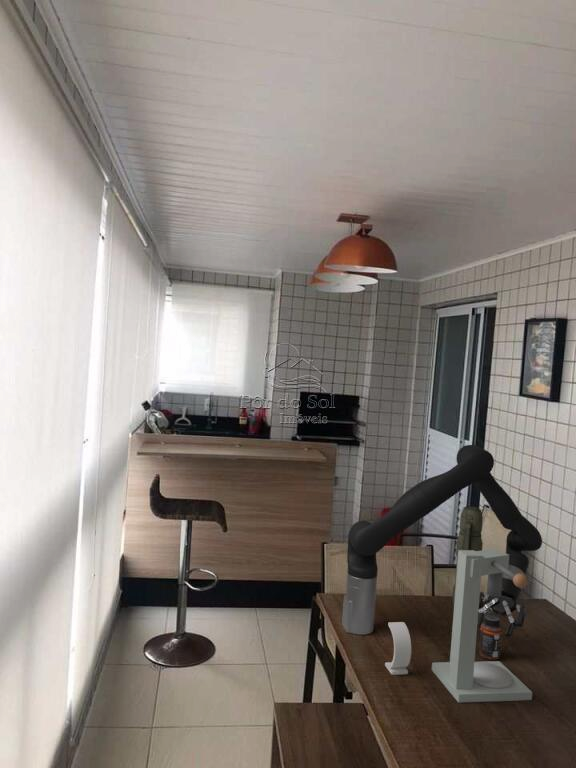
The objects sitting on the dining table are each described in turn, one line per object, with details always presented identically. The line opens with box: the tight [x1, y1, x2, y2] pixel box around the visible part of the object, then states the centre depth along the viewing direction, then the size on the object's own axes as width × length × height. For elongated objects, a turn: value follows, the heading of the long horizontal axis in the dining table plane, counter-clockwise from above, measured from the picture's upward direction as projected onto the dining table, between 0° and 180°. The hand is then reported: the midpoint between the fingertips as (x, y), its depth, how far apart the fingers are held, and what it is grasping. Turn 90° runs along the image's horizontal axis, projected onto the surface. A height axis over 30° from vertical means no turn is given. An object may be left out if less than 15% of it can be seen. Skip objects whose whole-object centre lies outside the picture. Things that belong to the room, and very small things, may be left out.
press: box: [431, 548, 533, 704], centre depth 152 cm, size 20×26×36 cm
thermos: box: [451, 505, 484, 606], centre depth 212 cm, size 9×12×35 cm
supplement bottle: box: [478, 614, 503, 661], centre depth 174 cm, size 6×6×11 cm
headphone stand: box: [384, 621, 412, 676], centre depth 162 cm, size 5×6×12 cm
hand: (492, 631), depth 175 cm, fingers open, 8 cm apart
